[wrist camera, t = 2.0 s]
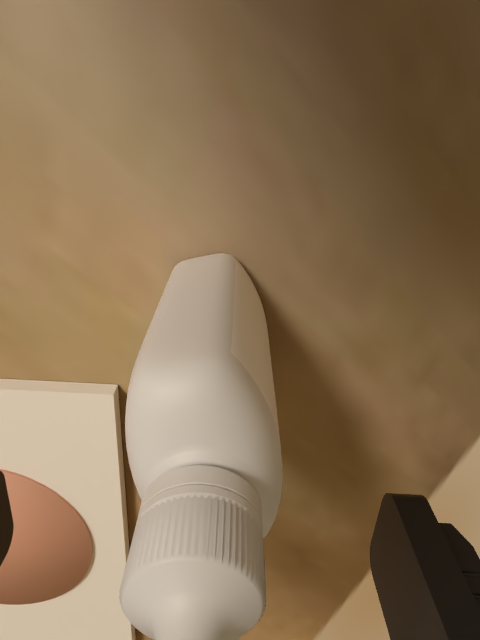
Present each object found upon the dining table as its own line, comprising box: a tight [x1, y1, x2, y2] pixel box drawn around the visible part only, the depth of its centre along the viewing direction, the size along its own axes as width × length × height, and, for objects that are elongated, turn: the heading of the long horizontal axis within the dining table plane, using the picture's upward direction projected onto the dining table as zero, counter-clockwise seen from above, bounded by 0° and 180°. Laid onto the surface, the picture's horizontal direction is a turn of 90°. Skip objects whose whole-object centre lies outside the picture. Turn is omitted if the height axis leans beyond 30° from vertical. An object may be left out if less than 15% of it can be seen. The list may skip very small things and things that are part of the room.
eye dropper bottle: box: [119, 253, 283, 640], centre depth 12 cm, size 4×6×12 cm
